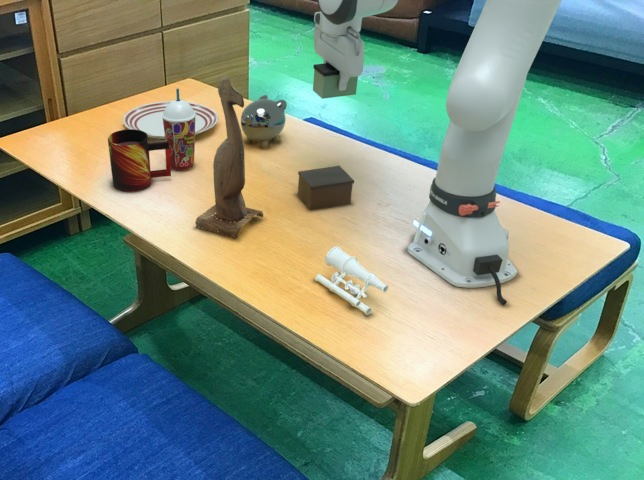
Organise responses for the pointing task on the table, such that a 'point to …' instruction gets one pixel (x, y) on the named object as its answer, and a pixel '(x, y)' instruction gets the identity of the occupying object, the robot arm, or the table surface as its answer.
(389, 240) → the table surface
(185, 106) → the smoothie
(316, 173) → the walnut box
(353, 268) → the white tapered barrel part
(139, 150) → the mug
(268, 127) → the piggy bank
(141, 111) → the dinner plate
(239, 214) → the bird sculpture
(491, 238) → the robot arm
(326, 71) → the green lidded box
